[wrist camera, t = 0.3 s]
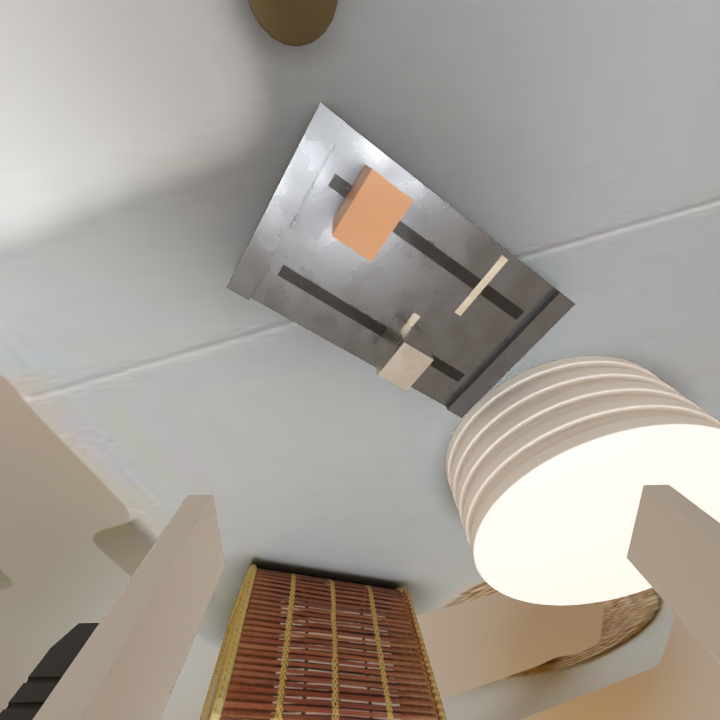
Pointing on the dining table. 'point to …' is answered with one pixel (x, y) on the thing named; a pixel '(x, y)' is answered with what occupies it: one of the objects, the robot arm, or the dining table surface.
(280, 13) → the cork
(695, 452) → the plate stack
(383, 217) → the fader
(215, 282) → the dining table surface
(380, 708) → the picnic basket
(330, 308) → the slider panel
